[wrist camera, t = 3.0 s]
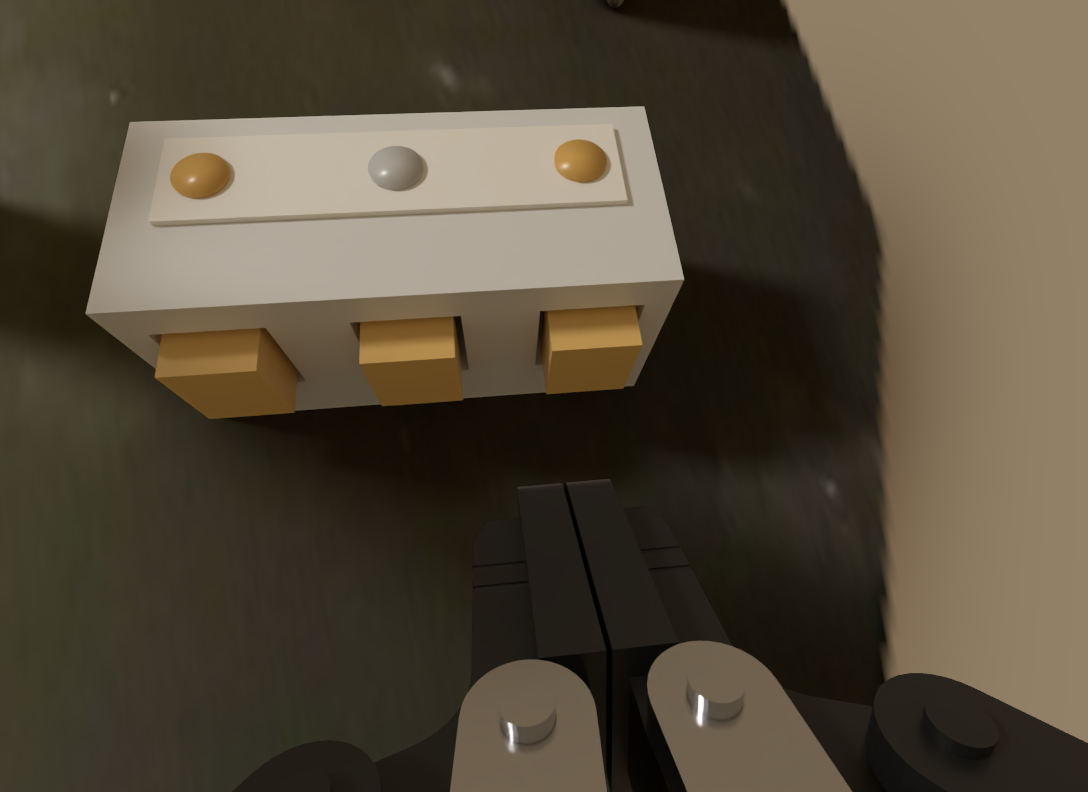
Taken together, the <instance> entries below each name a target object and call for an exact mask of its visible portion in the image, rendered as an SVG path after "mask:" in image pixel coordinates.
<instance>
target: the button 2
mask: <svg viewBox="0 0 1088 792" xmlns="http://www.w3.org/2000/svg"><path fill="white" fill-rule="evenodd" d="M641 347H642V339H641V334H640V329H639V324H638V318H637V313H636V308H635V305H631V306H614V307H598V308H582V309H565V310H549V311H544V319H543V329H542V339H541V354H542V363H543V371H544V380H545V389H546V394H556V393H570V392H583V391H597V390H610V389H623V388H624V386H625V384H626V382H627V379H628V377H629V375H630V373H631V370H632V368H633V366H634V363H635V361H636V359H637V357H638V354H639V352H640V350H641Z"/></svg>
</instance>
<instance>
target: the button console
mask: <svg viewBox="0 0 1088 792" xmlns="http://www.w3.org/2000/svg"><path fill="white" fill-rule="evenodd" d="M683 281H684V276H683V272H682V268H681V263H680V259H679V255H678V250H677V246H676V242H675V237H674V233H673V229H672V224H671V220H670V216H669V211H668V207H667V203H666V199H665V194H664V190H663V186H662V181H661V177H660V173H659V168H658V164H657V160H656V155H655V151H654V147H653V142H652V138H651V134H650V129H649V125H648V121H647V117H646V112H645V108H644V106H643V107H611V108H578V109H545V110H512V111H479V112H446V113H413V114H381V115H348V116H315V117H282V118H249V119H216V120H183V121H151V122H130V124H129V128H128V133H127V137H126V141H125V145H124V150H123V154H122V158H121V163H120V167H119V171H118V176H117V180H116V184H115V189H114V193H113V197H112V201H111V206H110V210H109V214H108V219H107V223H106V227H105V232H104V236H103V240H102V245H101V249H100V253H99V257H98V262H97V266H96V270H95V275H94V279H93V283H92V288H91V292H90V296H89V301H88V305H87V309H86V313H85V314H86V315H87V316H89V317H90V318H91V319H92V320H94V321H95V322H96V323H98V324H99V325H100V326H101V327H103V328H104V329H105V330H106V331H108V332H109V333H110V334H112V335H113V336H114V337H115V338H117V339H118V340H119V341H121V342H122V343H123V344H124V345H126V346H127V347H128V348H130V349H131V350H132V351H133V352H135V353H136V354H137V355H138V356H140V357H141V358H142V359H144V360H145V361H146V362H147V363H149V364H150V365H151V366H153V367H154V368H155V369H156V367H157V361H158V355H159V349H160V343H161V338H162V334H172V333H188V332H205V331H221V330H237V329H254V328H266V329H267V330H268V332H269V333H270V334H271V336H272V337H273V338H274V340H275V341H276V342H277V343H278V345H279V346H280V347H281V349H282V350H283V351H284V353H285V354H286V355H287V356H288V358H289V359H290V360H291V362H292V363H293V364H294V366H295V367H296V368H297V369H298V372H297V387H296V402H295V411H298V410H312V409H325V408H339V407H353V406H366V405H380V402H379V400H378V398H377V396H376V394H375V393H374V391H373V389H372V387H371V385H370V383H369V381H368V379H367V378H366V376H365V374H364V372H363V370H362V368H361V366H360V365H359V352H360V322H368V321H385V320H401V319H418V318H434V317H450V316H455V322H456V328H457V334H458V340H459V345H460V351H461V369H462V388H463V398H475V397H489V396H502V395H516V394H530V393H543V392H546V389H545V380H544V371H543V363H542V354H541V339H542V329H543V319H544V311H549V310H565V309H582V308H598V307H614V306H631V305H635V308H636V313H637V318H638V324H639V329H640V334H641V339H642V347H641V350H640V352H639V354H638V357H637V359H636V361H635V363H634V366H633V368H632V370H631V373H630V375H629V377H628V379H627V382H626V384H625V386H634V385H635V383H636V380H637V378H638V376H639V374H640V372H641V370H642V368H643V366H644V364H645V361H646V359H647V357H648V355H649V353H650V351H651V349H652V347H653V345H654V342H655V340H656V338H657V336H658V334H659V332H660V330H661V328H662V326H663V323H664V321H665V319H666V317H667V315H668V313H669V311H670V309H671V307H672V304H673V302H674V300H675V298H676V296H677V294H678V292H679V290H680V288H681V285H682V283H683ZM625 386H624V387H625Z"/></svg>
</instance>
